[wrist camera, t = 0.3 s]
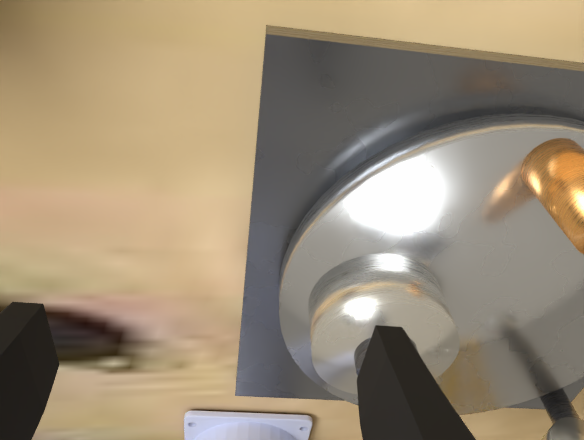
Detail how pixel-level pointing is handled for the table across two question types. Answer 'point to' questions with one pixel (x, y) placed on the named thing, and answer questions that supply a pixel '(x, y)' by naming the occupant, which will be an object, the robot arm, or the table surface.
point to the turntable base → (358, 147)
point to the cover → (377, 315)
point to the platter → (466, 249)
